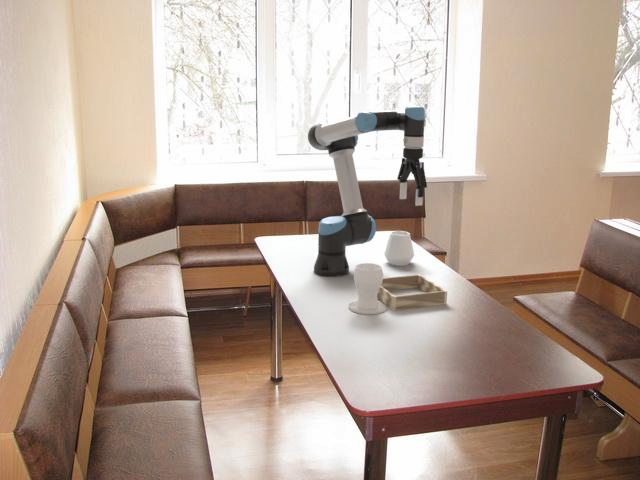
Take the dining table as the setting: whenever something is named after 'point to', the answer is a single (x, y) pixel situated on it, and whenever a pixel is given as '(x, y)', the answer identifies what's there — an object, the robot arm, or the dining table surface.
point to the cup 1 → (368, 284)
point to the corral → (430, 298)
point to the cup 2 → (399, 248)
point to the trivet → (354, 308)
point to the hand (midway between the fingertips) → (410, 202)
